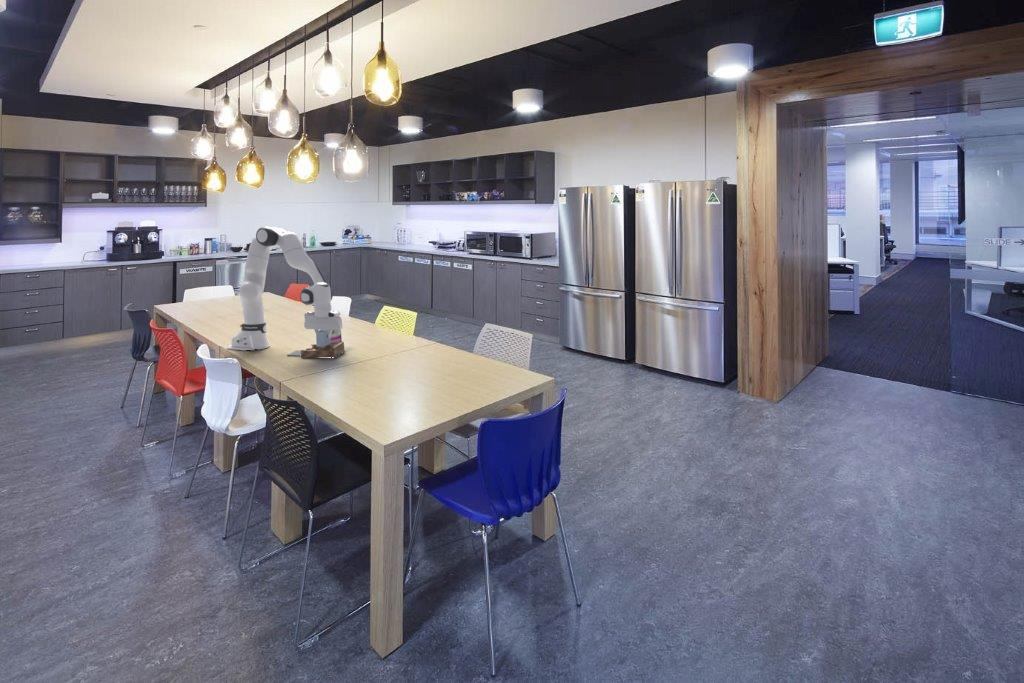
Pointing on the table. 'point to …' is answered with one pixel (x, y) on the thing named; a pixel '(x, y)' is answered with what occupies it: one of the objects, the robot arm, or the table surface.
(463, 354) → the table surface
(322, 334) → the blue-grey box
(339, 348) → the tray
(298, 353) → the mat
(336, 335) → the candy bar box
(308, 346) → the offcut short
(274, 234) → the robot arm
